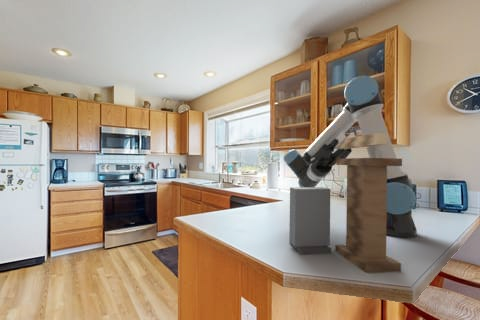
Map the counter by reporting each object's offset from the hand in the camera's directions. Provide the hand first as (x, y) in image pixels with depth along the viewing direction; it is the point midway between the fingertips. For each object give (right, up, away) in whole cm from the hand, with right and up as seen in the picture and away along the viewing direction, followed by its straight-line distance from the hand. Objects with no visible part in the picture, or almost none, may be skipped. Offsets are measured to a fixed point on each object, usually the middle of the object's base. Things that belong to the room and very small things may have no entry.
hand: (348, 135), depth 78 cm
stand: (+1, -38, -9) cm, 39 cm away
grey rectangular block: (-13, -38, +1) cm, 40 cm away
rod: (+1, -4, -4) cm, 6 cm away
